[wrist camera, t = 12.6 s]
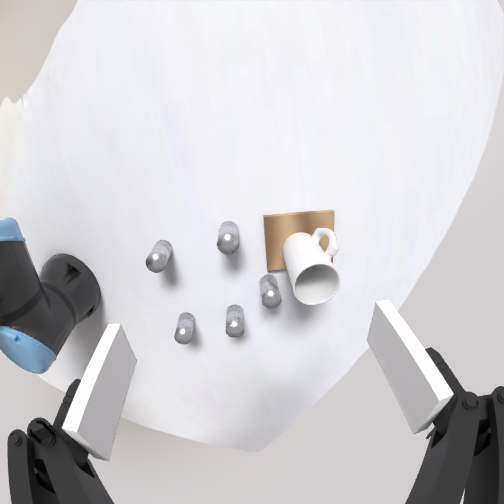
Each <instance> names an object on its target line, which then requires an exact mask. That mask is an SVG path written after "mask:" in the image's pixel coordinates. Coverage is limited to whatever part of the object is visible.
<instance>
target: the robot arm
mask: <svg viewBox="0 0 504 504" xmlns="http://www.w3.org/2000/svg"><path fill="white" fill-rule="evenodd" d="M99 301H100V289H99V286H98V283H97V280H96V278H95V277H94V275H93V273H92V272H91V271H90V269H89V268H88V267H87V266H86V265H85V264H84V263H83V262H82V261H80V260H79V259H77V258H75V257H73V256H71V255H68V254H57V255H55V256H53V257H52V258H51V259H49V260H48V261H47V262H46V263H45V265H44V266H43V268H42V271H41V273H40V276H39V277H38V275H37V272H36V270H35V267H34V265H33V262H32V260H31V257H30V255H29V252H28V249H27V247H26V244H25V238H23V236H22V233H21V231H20V228H19V225H18V223H17V221H16V220H15V219H13V218H6V219H3V220H0V349H1V350H2V352H3V353H4V354H5V355H6V356H7V357H8V358H9V359H10V360H11V361H13V362H14V363H15V364H17V365H18V366H20V367H21V368H23V369H25V370H27V371H29V372H32V373H37V374H41V373H44V372H46V371H47V370H48V369H49V367H50V366H51V365H52V363H53V362H54V361H55V360H56V357H57V355H58V353H59V352H60V350H61V348H62V346H63V345H64V343H65V341H66V340H67V338H68V336H69V335H70V333H71V331H72V330H73V328H74V327H75V325H76V324H78V323H80V322H81V321H83V320H84V319H86V318H87V317H89V316H90V315H91V314H92V313H93V312H94V311H95V309H96V308H97V306H98V304H99ZM367 342H368V344H369V345H370V347H371V349H372V351H373V353H374V355H375V357H376V359H377V361H378V362H379V364H380V366H381V368H382V370H383V372H384V374H385V376H386V378H387V380H388V382H389V384H390V386H391V388H392V390H393V392H394V394H395V396H396V398H397V400H398V402H399V404H400V406H401V409H402V411H403V413H404V415H405V417H406V419H407V421H408V423H409V426H410V428H411V430H412V432H413V434H416V433H419V432H421V431H423V430H425V429H427V428H428V427H429V426H430V425H431V423H432V422H433V424H434V426H435V427H434V428H433V430H432V431H431V432H430V433H429V434H428V435H427V437H426V439H428V438H429V437H430V436H431V438H430V441H429V445H428V448H427V451H426V454H425V457H424V460H423V462H422V465H421V468H420V471H419V473H418V476H417V478H416V481H415V483H414V485H413V488H412V490H411V492H410V495H409V497H408V499H407V501H406V503H405V504H460V501H461V498H462V495H463V492H464V489H465V494H464V502H463V504H504V387H502V386H499V387H497V388H496V389H495V390H494V391H493V392H492V394H490V395H484V396H477V395H476V394H474V393H472V392H466V391H465V390H464V389H463V388H462V386H461V385H460V383H459V381H458V380H457V378H456V377H455V376H454V374H453V372H452V371H451V369H449V367H448V365H447V364H446V363H445V362H444V359H443V358H442V357H441V355H440V354H439V353H438V352H437V351H436V350H434V349H433V348H427V349H424V348H423V346H422V345H421V343H420V342H419V341H418V339H417V338H416V336H415V335H414V334H413V332H412V331H411V329H410V328H409V327H408V325H407V324H406V323H405V321H404V320H403V318H402V317H401V316H400V315H399V313H398V312H397V310H396V309H395V308H394V306H393V305H392V304H391V303H390V301H389V300H382V301H377V302H376V303H375V308H374V312H373V317H372V321H371V325H370V329H369V333H368V337H367ZM136 362H137V359H136V357H135V355H134V353H133V351H132V349H131V346H130V344H129V342H128V340H127V337H126V335H125V333H124V330H123V328H122V326H121V324H108V326H107V328H106V330H105V332H104V334H103V336H102V338H101V340H100V342H99V344H98V346H97V348H96V350H95V352H94V354H93V356H92V358H91V360H90V362H89V365H88V367H87V369H86V371H85V373H84V376H83V378H82V380H80V379H75V381H74V382H73V383H72V384H71V385H70V386H69V388H68V390H67V392H66V396H65V397H64V399H63V403H62V404H61V406H60V409H59V411H58V414H57V416H56V418H55V421H54V424H53V426H52V425H51V424H50V423H49V422H48V421H47V420H45V419H44V418H35V419H34V420H32V421H31V423H30V424H29V426H28V428H27V435H26V434H25V433H24V432H23V431H21V430H18V429H16V430H14V431H12V432H11V433H10V435H9V437H8V474H9V486H10V494H11V501H12V504H114V503H113V501H112V499H111V498H110V496H109V494H108V493H107V491H106V490H105V488H104V486H103V484H102V482H101V481H100V479H99V477H98V475H97V473H96V471H95V469H94V468H93V465H92V464H91V461H90V460H89V459H88V458H87V457H88V454H89V453H90V454H91V455H92V456H93V457H94V458H97V459H101V460H106V461H109V459H110V455H111V451H112V447H113V442H114V439H115V435H116V431H117V427H118V423H119V419H120V416H121V412H122V408H123V405H124V401H125V398H126V395H127V391H128V388H129V385H130V381H131V378H132V375H133V372H134V369H135V365H136Z"/></svg>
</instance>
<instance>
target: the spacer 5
mask: <svg viewBox="0 0 504 504" xmlns="http://www.w3.org/2000/svg"><path fill="white" fill-rule="evenodd" d="M260 289H261V296H262V303H263V305H264V306H265V307H267V308H275V307H277V306H279V305H280V303H281V296H280V292H279V288H278V284H277V280H276V278H275V277H274V276H272V275H265V276H263V277H262V278H261V279H260Z"/></svg>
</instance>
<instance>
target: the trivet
mask: <svg viewBox="0 0 504 504" xmlns="http://www.w3.org/2000/svg"><path fill="white" fill-rule="evenodd" d="M317 228H328V229H330V230H332V231H333V232H334V211H333V210H324V211H310V212H298V213H286V214H274V215H264V229H265V242H266V256H267V269H268V271H272V270H282V269H287V268H286V265H285V261H284V257H283V253H282V247H283V244H284V242H285V240H286V239H287V238H288V237H289V236H291V235H292V234H294V233H298V232H304V233H308V234H310V235H311V236H312V235H313V234H314V232H315V230H316V229H317ZM319 245H320V247H321V248H322V250H323V251H324V252H325V251H326V250H327V248H328V245H329V237H328V236H327V235H325V236H323V237H322V238H321V240H320V241H319ZM331 262H332V264H333V257H332V258H331Z"/></svg>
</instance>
